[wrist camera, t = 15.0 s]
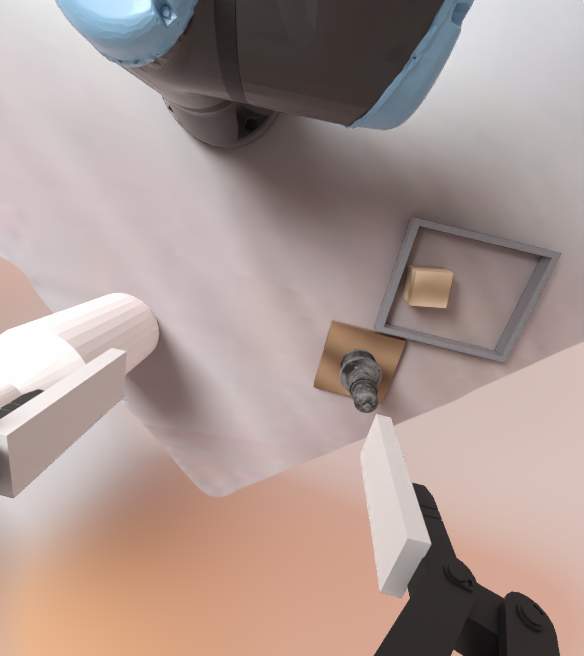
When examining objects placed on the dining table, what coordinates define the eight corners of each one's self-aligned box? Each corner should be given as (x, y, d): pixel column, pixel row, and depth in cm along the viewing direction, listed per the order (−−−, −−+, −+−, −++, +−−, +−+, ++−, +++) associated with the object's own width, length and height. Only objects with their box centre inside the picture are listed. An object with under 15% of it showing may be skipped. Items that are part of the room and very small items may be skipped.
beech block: (407, 265, 44) (416, 270, 40) (441, 267, 44) (453, 273, 40) (402, 296, 46) (410, 305, 42) (434, 299, 45) (446, 308, 41)
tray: (411, 217, 42) (415, 217, 40) (551, 251, 42) (561, 253, 40) (374, 326, 47) (376, 330, 46) (497, 356, 47) (504, 362, 45)
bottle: (76, 328, 52) (-124, 421, 29) (113, 275, 49) (-84, 333, 25) (136, 374, 54) (-8, 497, 31) (175, 327, 51) (46, 425, 27)
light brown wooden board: (332, 320, 48) (332, 323, 47) (404, 338, 48) (406, 341, 47) (313, 383, 52) (313, 387, 50) (380, 400, 51) (381, 404, 50)
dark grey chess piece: (375, 383, 49) (390, 434, 38) (336, 380, 50) (340, 429, 38) (380, 348, 47) (397, 390, 36) (340, 345, 48) (344, 386, 36)
